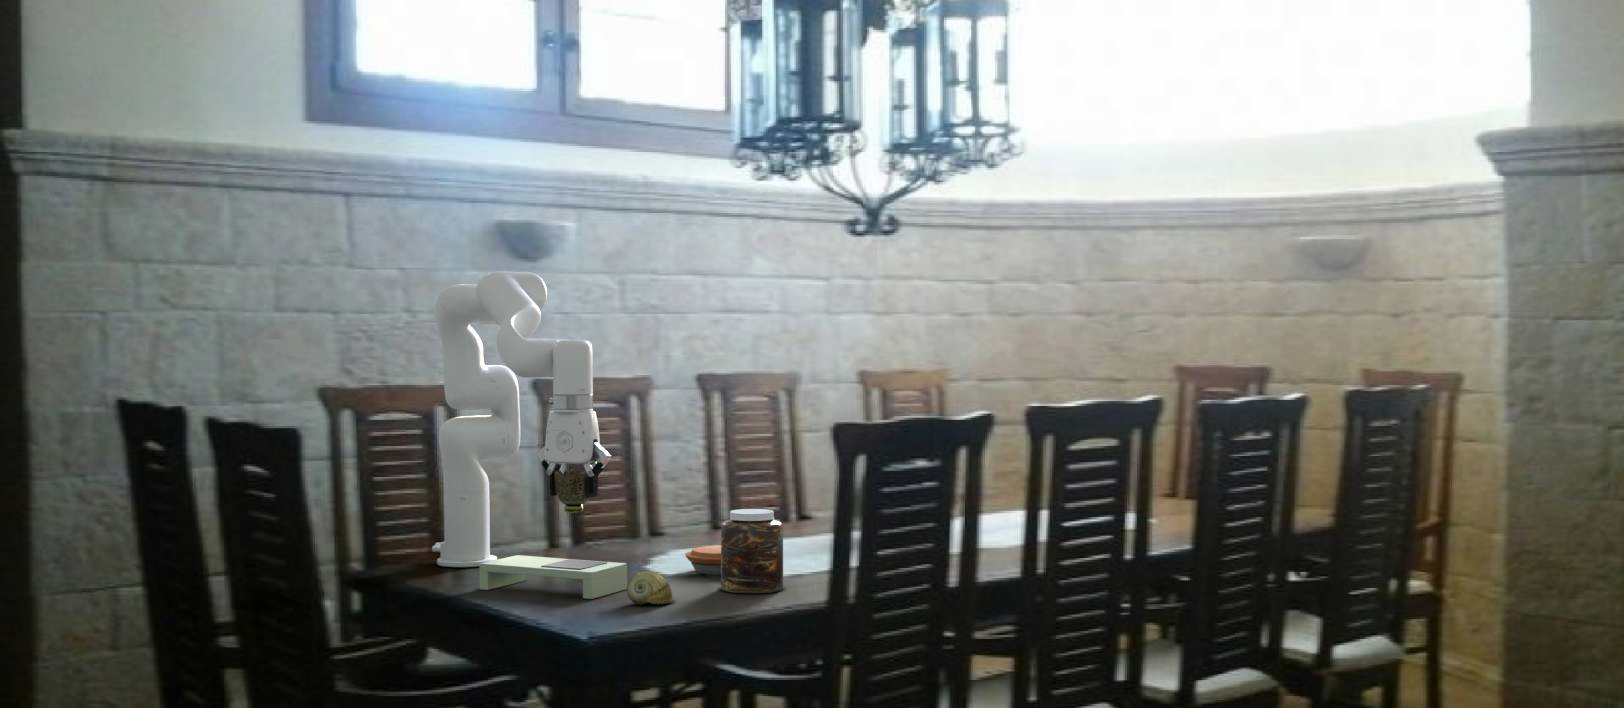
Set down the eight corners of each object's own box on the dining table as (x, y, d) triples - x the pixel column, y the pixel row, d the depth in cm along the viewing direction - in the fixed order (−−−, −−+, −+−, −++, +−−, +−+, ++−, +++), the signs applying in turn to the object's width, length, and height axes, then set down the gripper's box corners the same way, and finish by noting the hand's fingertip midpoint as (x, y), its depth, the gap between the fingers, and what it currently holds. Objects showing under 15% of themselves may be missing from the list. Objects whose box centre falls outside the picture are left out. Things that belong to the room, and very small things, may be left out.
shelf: (479, 589, 293) (479, 562, 293) (517, 580, 304) (517, 554, 304) (591, 599, 282) (591, 571, 282) (627, 589, 293) (626, 562, 293)
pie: (774, 572, 312) (774, 548, 312) (707, 579, 304) (707, 554, 304) (737, 563, 325) (737, 539, 325) (672, 569, 317) (672, 545, 317)
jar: (771, 582, 300) (771, 506, 300) (791, 591, 289) (790, 513, 289) (714, 586, 296) (713, 509, 295) (731, 595, 285) (731, 516, 284)
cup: (600, 511, 293) (600, 470, 293) (579, 515, 287) (579, 473, 287) (568, 509, 296) (568, 468, 296) (546, 513, 290) (546, 471, 290)
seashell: (652, 621, 281) (626, 587, 283) (682, 597, 282) (656, 563, 283) (643, 621, 272) (616, 586, 273) (674, 596, 272) (647, 561, 274)
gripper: (524, 404, 292) (524, 496, 292) (600, 405, 284) (600, 500, 284) (547, 402, 298) (548, 492, 299) (622, 403, 291) (622, 496, 291)
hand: (573, 495), depth 291 cm, fingers closed on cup, 7 cm apart
